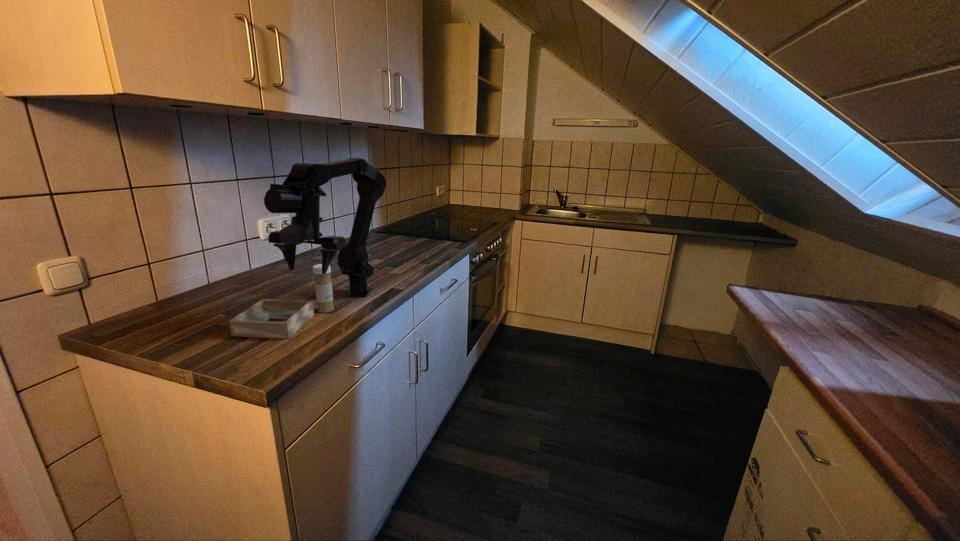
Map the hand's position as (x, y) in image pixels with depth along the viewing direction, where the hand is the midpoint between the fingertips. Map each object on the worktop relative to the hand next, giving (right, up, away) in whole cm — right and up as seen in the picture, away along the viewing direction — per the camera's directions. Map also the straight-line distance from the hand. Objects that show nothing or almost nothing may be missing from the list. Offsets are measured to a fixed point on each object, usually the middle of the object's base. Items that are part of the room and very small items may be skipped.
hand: (307, 271), depth 100 cm
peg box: (-7, -14, -2) cm, 16 cm away
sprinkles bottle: (+2, -11, +7) cm, 14 cm away
